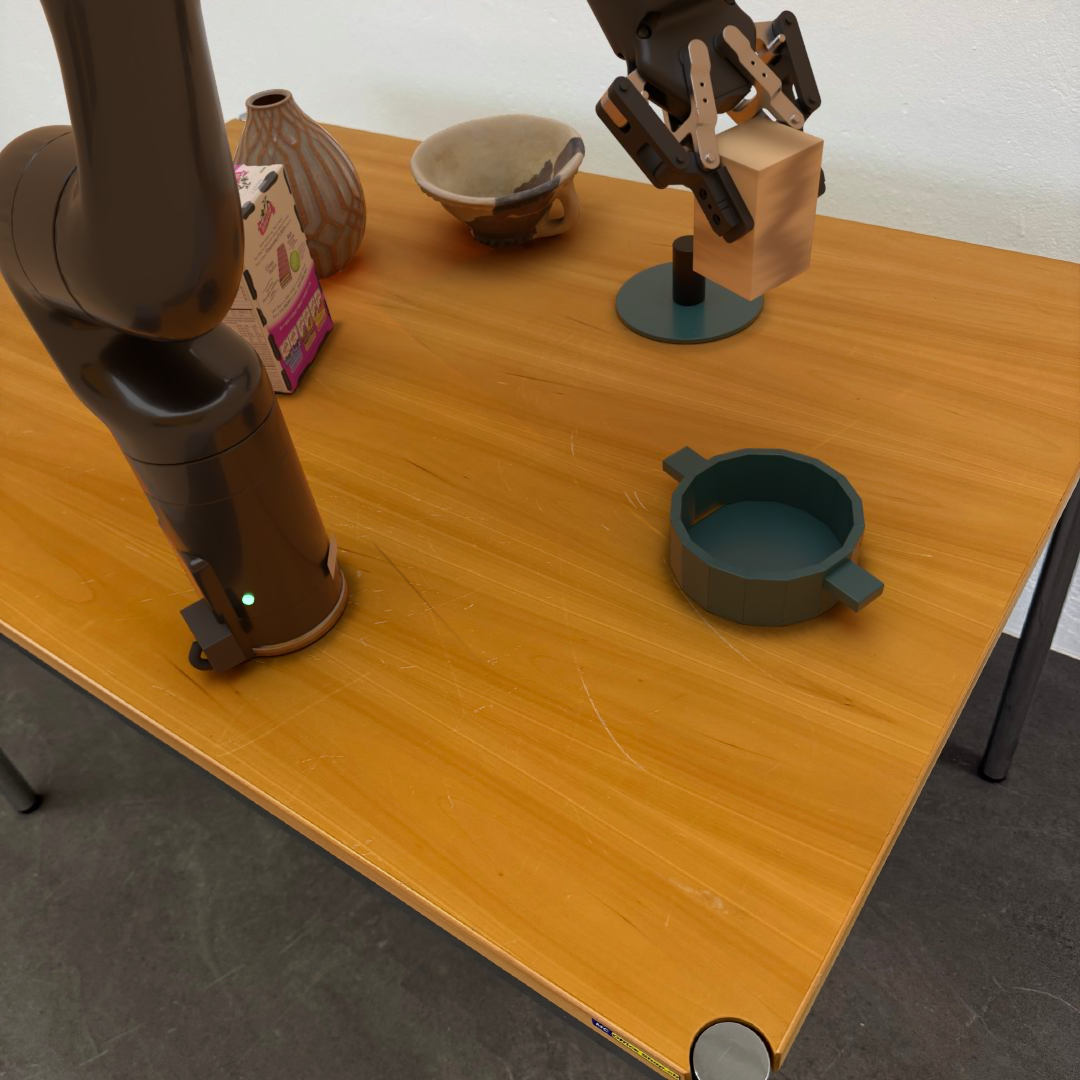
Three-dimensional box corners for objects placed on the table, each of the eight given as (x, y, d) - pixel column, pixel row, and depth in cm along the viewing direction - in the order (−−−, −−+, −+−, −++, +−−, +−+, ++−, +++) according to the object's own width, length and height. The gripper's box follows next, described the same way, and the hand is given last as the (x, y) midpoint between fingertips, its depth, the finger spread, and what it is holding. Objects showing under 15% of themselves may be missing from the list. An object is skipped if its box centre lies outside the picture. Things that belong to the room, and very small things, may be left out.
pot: (793, 688, 58) (801, 639, 55) (610, 534, 69) (607, 484, 66) (926, 588, 63) (941, 536, 59) (734, 457, 73) (737, 407, 70)
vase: (344, 303, 95) (295, 129, 83) (234, 292, 99) (170, 124, 87) (398, 239, 104) (360, 71, 91) (294, 231, 107) (244, 69, 95)
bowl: (393, 260, 100) (372, 173, 94) (487, 186, 110) (474, 102, 104) (533, 294, 93) (521, 202, 86) (620, 211, 103) (616, 122, 96)
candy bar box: (288, 324, 94) (233, 162, 82) (335, 326, 93) (286, 161, 81) (242, 394, 86) (174, 226, 74) (292, 396, 85) (232, 226, 73)
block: (750, 301, 56) (758, 170, 50) (692, 270, 59) (694, 143, 53) (809, 269, 58) (824, 139, 52) (750, 240, 61) (758, 114, 55)
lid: (683, 368, 82) (684, 302, 77) (587, 308, 90) (582, 244, 86) (793, 307, 87) (800, 241, 82) (692, 255, 95) (693, 192, 90)
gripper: (558, -69, 47) (720, 238, 48) (767, -137, 52) (908, 143, 53) (511, 24, 54) (653, 289, 55) (698, -44, 59) (825, 202, 60)
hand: (777, 216), depth 54 cm, fingers closed on block, 5 cm apart
